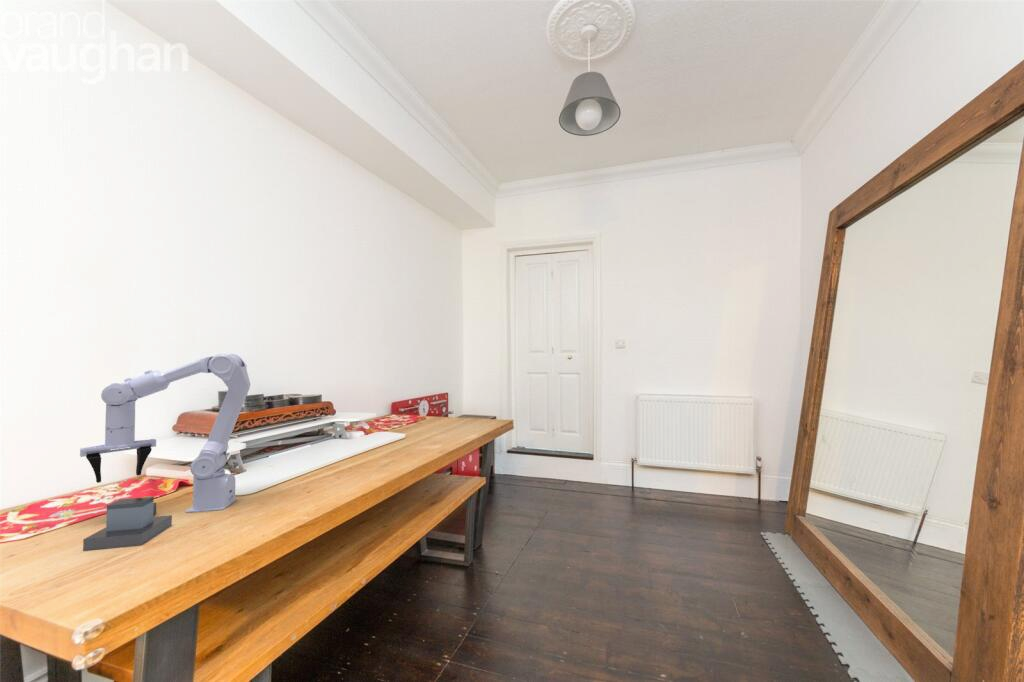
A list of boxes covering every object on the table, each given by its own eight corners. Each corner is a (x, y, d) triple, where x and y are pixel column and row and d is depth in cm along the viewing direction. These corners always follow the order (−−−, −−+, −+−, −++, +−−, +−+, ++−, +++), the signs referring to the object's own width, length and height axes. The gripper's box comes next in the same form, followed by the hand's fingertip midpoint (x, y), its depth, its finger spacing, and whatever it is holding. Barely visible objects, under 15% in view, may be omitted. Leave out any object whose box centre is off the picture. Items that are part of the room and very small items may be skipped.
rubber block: (156, 513, 109) (156, 502, 109) (152, 518, 106) (152, 507, 106) (136, 516, 107) (136, 505, 107) (132, 521, 104) (132, 510, 104)
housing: (119, 524, 96) (119, 499, 96) (153, 521, 97) (153, 496, 97) (106, 531, 92) (106, 505, 92) (141, 528, 93) (142, 502, 94)
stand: (171, 525, 101) (171, 515, 101) (141, 545, 90) (141, 533, 90) (120, 529, 99) (120, 519, 99) (83, 550, 88) (83, 539, 88)
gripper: (82, 433, 99) (80, 488, 99) (158, 425, 111) (157, 474, 110) (79, 430, 104) (78, 482, 103) (153, 422, 115) (152, 470, 114)
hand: (119, 478), depth 107 cm, fingers open, 7 cm apart
